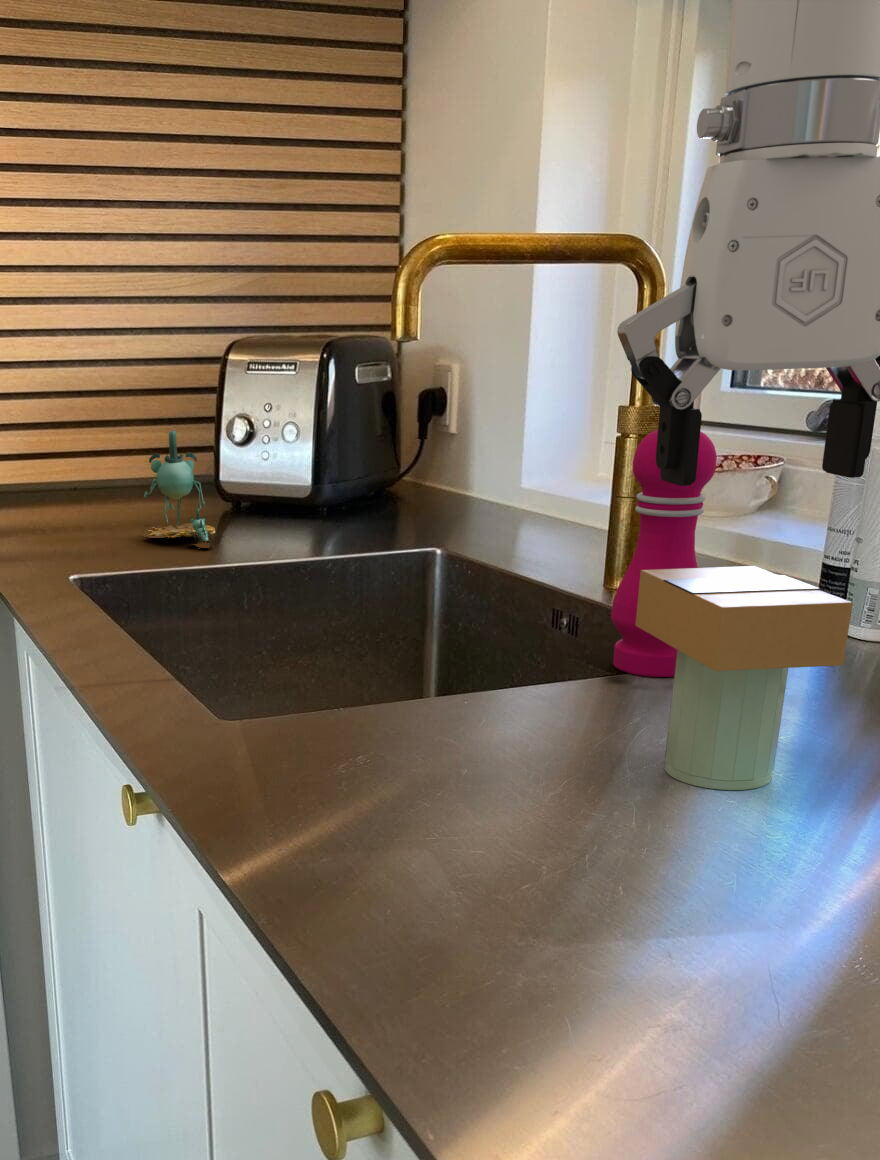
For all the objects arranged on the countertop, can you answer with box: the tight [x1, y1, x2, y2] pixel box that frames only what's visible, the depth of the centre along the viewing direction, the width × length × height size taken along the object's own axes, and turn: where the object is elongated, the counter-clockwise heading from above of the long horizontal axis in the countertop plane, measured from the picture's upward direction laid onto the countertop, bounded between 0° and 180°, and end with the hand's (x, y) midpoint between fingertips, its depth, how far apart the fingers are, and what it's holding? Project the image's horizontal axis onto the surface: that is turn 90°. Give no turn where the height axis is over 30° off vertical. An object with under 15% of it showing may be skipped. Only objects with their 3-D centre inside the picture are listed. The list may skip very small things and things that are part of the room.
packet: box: [636, 565, 854, 671], centre depth 70 cm, size 11×7×4 cm
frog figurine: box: [143, 429, 216, 550], centre depth 156 cm, size 10×18×15 cm, turn 13°
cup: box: [664, 650, 789, 791], centre depth 73 cm, size 6×6×8 cm
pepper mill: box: [610, 429, 717, 678], centre depth 93 cm, size 7×7×20 cm
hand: (759, 478), depth 68 cm, fingers open, 9 cm apart
